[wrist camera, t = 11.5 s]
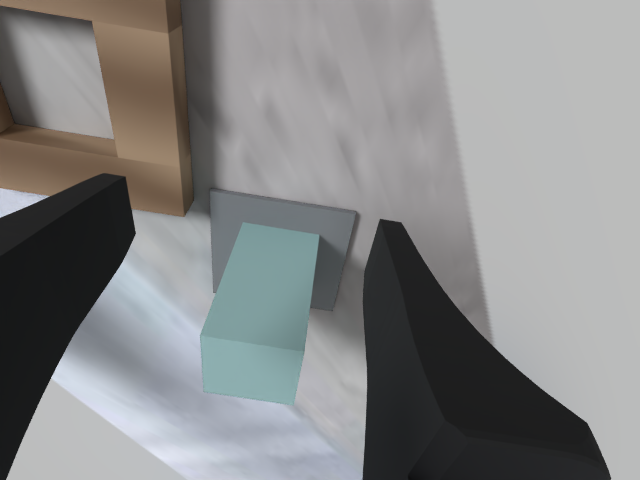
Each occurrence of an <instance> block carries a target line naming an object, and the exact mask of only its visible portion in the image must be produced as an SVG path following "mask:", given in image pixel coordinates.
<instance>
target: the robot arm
mask: <svg viewBox="0 0 640 480" xmlns="http://www.w3.org/2000/svg"><path fill="white" fill-rule="evenodd" d="M135 234H136V232H135V226H134V221H133V215H132V210H131V204H130V198H129V193H128V187H127V181H126V176H120V175H114V174H108V173H102V174H99V175H97V176H94V177H92V178H89V179H87V180H85V181H83V182H80V183H78V184H76V185H74V186H72V187H69V188H67V189H65V190H63V191H61V192H59V193H56V194H54V195H52V196H50V197H48V198H46V199H43V200H41V201H39V202H37V203H35V204H32V205H30V206H28V207H25V208H23V209H21V210H18V211H16V212H13V213H11V214H9V215H6V216H4V217H1V218H0V480H6V478H7V476H8V473H9V471H10V468H11V466H12V463H13V461H14V459H15V456H16V454H17V451H18V449H19V446H20V444H21V442H22V439H23V437H24V435H25V432H26V430H27V428H28V426H29V423H30V421H31V419H32V417H33V415H34V413H35V410H36V408H37V405H38V404H39V402H40V399H41V397H42V395H43V393H44V391H45V389H46V387H47V385H48V383H49V381H50V379H51V377H52V375H53V373H54V371H55V369H56V367H57V365H58V363H59V361H60V359H61V358H62V356H63V354H64V352H65V350H66V348H67V346H68V344H69V342H70V341H71V339H72V337H73V335H74V334H75V332H76V331H77V329H78V327H79V326H80V324H81V323H82V321H83V320H84V318H85V317H86V315H87V314H88V312H89V311H90V309H91V308H92V307H93V305H94V304H95V302H96V301H97V299H98V298H99V296H100V295H101V293H102V292H103V290H104V289H105V288H106V286H107V285H108V283H109V282H110V280H111V279H112V277H113V276H114V274H115V273H116V271H117V270H118V268H119V267H120V265H121V263H122V262H123V260H124V258H125V256H126V254H127V252H128V250H129V248H130V245H131V243H132V241H133V239H134V236H135ZM363 314H364V330H365V345H366V360H367V408H366V430H365V450H364V466H363V480H611V477H610V474H609V470H608V468H607V465H606V463H605V461H604V458H603V456H602V454H601V451H600V449H599V446H598V444H597V442H596V440H595V438H594V436H593V434H592V431H591V430H590V428H589V426H588V424H587V423H586V422H585V421H584V420H582V419H581V418H580V417H578V416H577V415H576V414H574V413H573V412H572V411H570V410H569V409H567V408H566V407H565V406H563V405H562V404H561V403H559V402H558V401H557V400H555V399H554V398H553V397H551V396H550V395H548V394H547V393H546V392H545V391H543V390H542V389H541V388H540V387H538V386H537V385H536V384H535V383H533V382H532V381H531V380H530V379H529V378H528V377H526V376H525V375H524V374H523V373H522V372H520V371H519V370H518V369H517V368H516V367H515V366H514V365H512V364H511V363H510V362H509V361H508V360H507V359H505V357H504V356H502V355H501V354H500V353H499V352H498V351H497V350H496V349H495V348H494V347H493V346H492V345H491V344H490V343H489V342H488V341H487V340H486V339H485V338H484V337H483V336H482V335H481V334H480V333H479V332H478V331H477V330H476V329H475V328H474V326H473V325H472V324H471V323H470V322H469V321H468V320H467V318H466V317H465V316H464V315H463V314H462V313H461V312H460V311H459V309H458V308H457V307H456V306H455V304H454V303H453V302H452V301H451V299H450V298H449V297H448V295H447V294H446V293H445V291H444V290H443V289H442V287H441V286H440V285H439V283H438V282H437V280H436V279H435V277H434V276H433V274H432V273H431V271H430V270H429V268H428V267H427V265H426V263H425V262H424V260H423V259H422V257H421V255H420V254H419V252H418V250H417V249H416V247H415V245H414V243H413V242H412V240H411V238H410V236H409V235H408V233H407V231H406V229H405V228H404V226H403V224H402V223H401V222H395V221H389V220H383V219H380V221H379V224H378V228H377V231H376V234H375V238H374V241H373V244H372V248H371V251H370V255H369V258H368V261H367V265H366V268H365V273H364V288H363Z"/></svg>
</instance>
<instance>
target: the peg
mask: <svg viewBox="0 0 640 480" xmlns="http://www.w3.org/2000/svg"><path fill="white" fill-rule="evenodd" d="M318 242H319V235H318V234H312V233H306V232H300V231H294V230H287V229H281V228H275V227H269V226H263V225H257V224H250V223H244V222H243V223H242V226H241V229H240V231H239V234H238V237H237V239H236V242H235V245H234V247H233V250H232V253H231V255H230V258H229V260H228V263H227V266H226V268H225V271H224V274H223V276H222V279H221V282H220V284H219V287H218V290H217V292H216V295H215V298H214V300H213V303H212V305H211V308H210V311H209V313H208V316H207V319H206V321H205V324H204V327H203V329H202V332H201V335H200V343H201V358H202V373H203V388H204V392H207V393H214V394H220V395H227V396H234V397H240V398H247V399H254V400H260V401H267V402H274V403H280V404H287V405H294V401H295V396H296V391H297V386H298V381H299V376H300V371H301V366H302V361H303V356H304V350H305V342H306V334H307V327H308V319H309V311H310V304H311V296H312V288H313V281H314V273H315V265H316V258H317V250H318Z"/></svg>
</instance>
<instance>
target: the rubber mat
mask: <svg viewBox="0 0 640 480" xmlns="http://www.w3.org/2000/svg"><path fill="white" fill-rule="evenodd" d="M209 192H210V218H211V245H212V271H213V293H216V292H217V290H218V287H219V284H220V282H221V279H222V276H223V274H224V271H225V268H226V266H227V263H228V260H229V258H230V255H231V253H232V250H233V247H234V245H235V242H236V239H237V237H238V234H239V231H240V229H241V226H242V223H243V222H244V223H250V224H257V225H263V226H269V227H275V228H281V229H287V230H294V231H300V232H306V233H312V234H318V235H319V242H318V250H317V258H316V265H315V273H314V281H313V288H312V296H311V304H310V308H316V309H323V310H329V311H333V308H334V303H335V299H336V295H337V291H338V287H339V282H340V278H341V274H342V270H343V266H344V261H345V257H346V253H347V249H348V244H349V240H350V236H351V232H352V228H353V223H354V219H355V215H356V211H351V210H344V209H338V208H332V207H326V206H319V205H313V204H307V203H301V202H294V201H288V200H282V199H276V198H269V197H263V196H257V195H251V194H244V193H238V192H232V191H226V190H219V189H213V188H211V189H210V191H209Z"/></svg>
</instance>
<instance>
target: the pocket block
mask: <svg viewBox="0 0 640 480" xmlns="http://www.w3.org/2000/svg"><path fill="white" fill-rule="evenodd" d="M0 6H6V7H12V8H18V9H24V10H30V11H36V12H42V13H48V14H54V15H60V16H66V17H72V18H78V19H84V20H89V21H92V25H93V30H94V35H95V40H96V46H97V51H98V56H99V61H100V66H101V72H102V77H103V82H104V87H105V93H106V98H107V103H108V108H109V113H110V119H111V124H112V129H113V134H114V139H115V140H112V139H105V138H99V137H93V136H87V135H81V134H75V133H68V132H62V131H56V130H50V129H44V128H37V127H31V126H25V125H19V124H14V121H13V118H12V115H11V112H10V109H9V107H8V104H7V101H6V98H5V95H4V92H3V89H2V86H1V84H0V188H3V189H10V190H16V191H22V192H29V193H35V194H41V195H48V196H52V195H54V194H56V193H59V192H61V191H63V190H65V189H67V188H69V187H72V186H74V185H76V184H78V183H80V182H83V181H85V180H87V179H89V178H92V177H94V176H97V175H99V174H102V173H108V174H114V175H120V176H126V181H127V187H128V193H129V198H130V204H131V209H136V210H143V211H149V212H155V213H162V214H168V215H174V216H181V217H185V215H186V213H187V211H188V210H189V208H190V206H191V204H192V203H193V201H194V196H193V181H192V166H191V151H190V136H189V122H188V107H187V92H186V77H185V62H184V47H183V32H182V18H181V3H180V0H0Z"/></svg>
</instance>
